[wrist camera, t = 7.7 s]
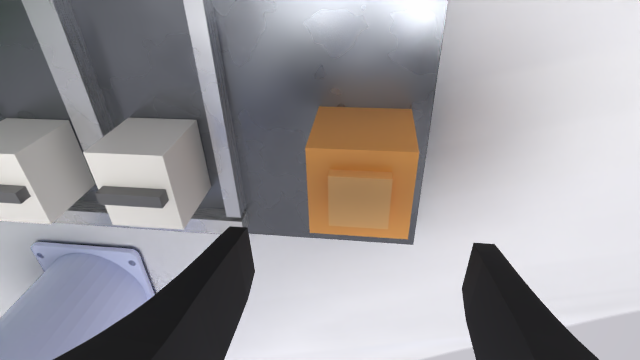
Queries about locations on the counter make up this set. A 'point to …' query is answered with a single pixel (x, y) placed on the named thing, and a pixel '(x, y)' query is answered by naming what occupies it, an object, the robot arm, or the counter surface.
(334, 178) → the cap
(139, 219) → the toggle
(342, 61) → the panel
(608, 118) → the counter surface
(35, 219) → the toggle
